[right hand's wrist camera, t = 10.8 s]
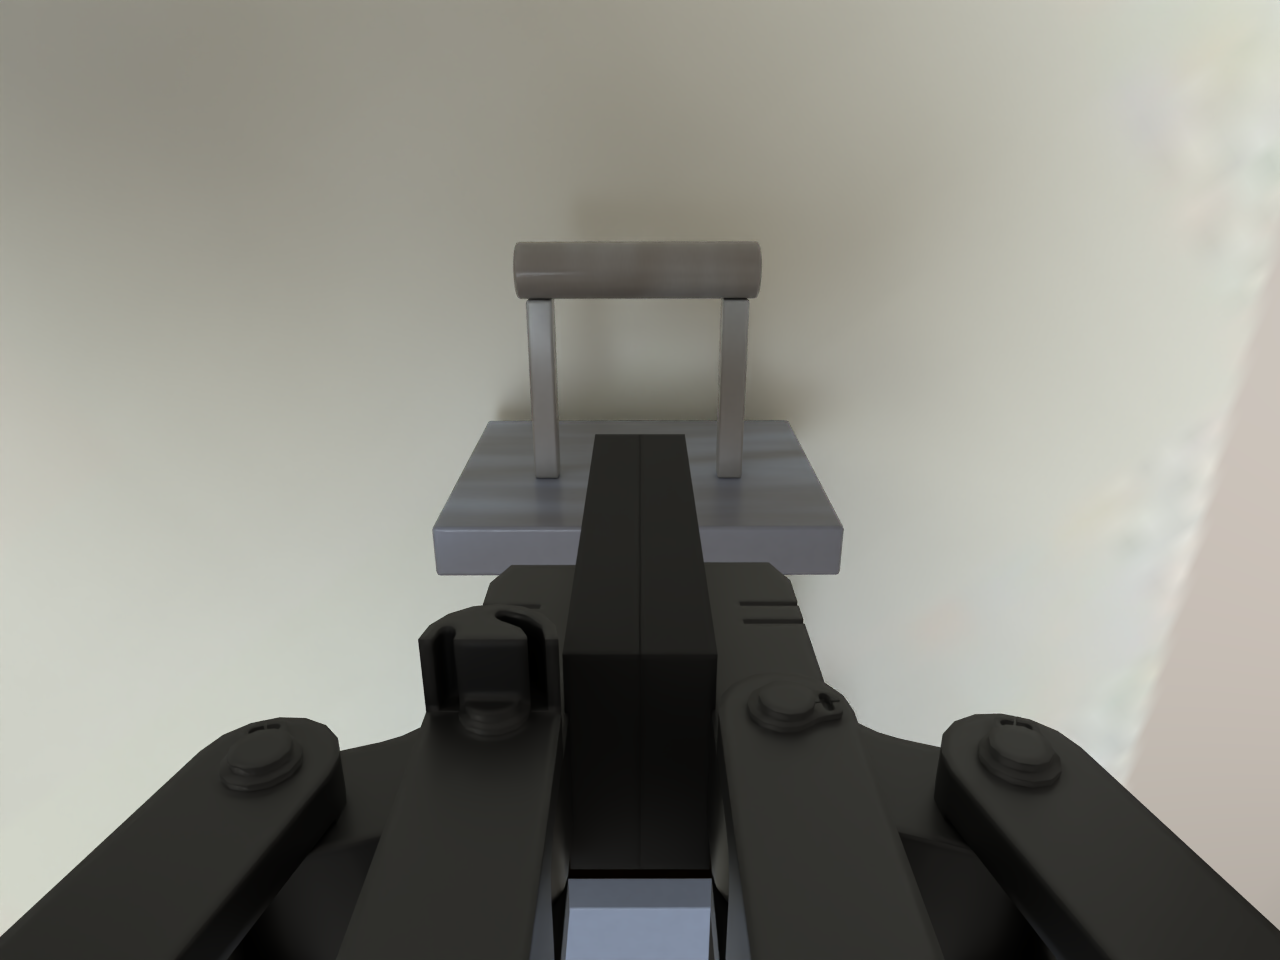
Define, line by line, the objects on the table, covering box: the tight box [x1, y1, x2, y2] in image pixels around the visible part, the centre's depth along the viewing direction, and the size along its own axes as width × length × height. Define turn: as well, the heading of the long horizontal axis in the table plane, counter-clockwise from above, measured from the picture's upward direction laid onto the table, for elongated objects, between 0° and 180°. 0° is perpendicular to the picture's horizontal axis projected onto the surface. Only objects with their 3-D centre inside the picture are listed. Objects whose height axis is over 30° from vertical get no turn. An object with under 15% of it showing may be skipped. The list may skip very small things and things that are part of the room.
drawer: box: [432, 241, 844, 879], centre depth 25 cm, size 25×9×8 cm, turn 0°
